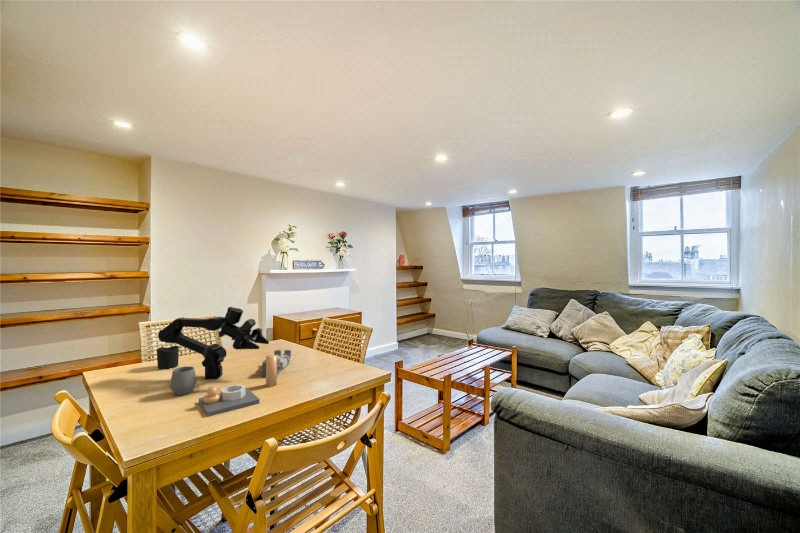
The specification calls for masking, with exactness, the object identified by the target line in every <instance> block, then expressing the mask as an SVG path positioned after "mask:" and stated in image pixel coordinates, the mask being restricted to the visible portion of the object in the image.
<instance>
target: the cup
mask: <svg viewBox="0 0 800 533" xmlns="http://www.w3.org/2000/svg"><path fill="white" fill-rule="evenodd" d="M196 385H197V375H196V370H195V367H194V366H190V365H189V366H181V367H175V369H174V368H173V370H172V373H171V378H170V382H169V387H170V389H171V390H172V392H173V394H174V395H176V396H185V395H188V394H190V393H193V391H194V389H195V387H196Z"/></svg>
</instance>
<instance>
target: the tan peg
mask: <svg viewBox="0 0 800 533" xmlns="http://www.w3.org/2000/svg"><path fill="white" fill-rule="evenodd" d="M265 360H266V377H265V386H266V388H267V387H268V388H271V387H272V388H273V387H276V386H277V384H278V382H277V381H278V380H277V377H278V375H277V356H276V355H274V354H269V355H266V357H265Z"/></svg>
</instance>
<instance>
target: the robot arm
mask: <svg viewBox="0 0 800 533" xmlns="http://www.w3.org/2000/svg"><path fill="white" fill-rule="evenodd" d="M243 313H244V310H243V309H242V308H237V307H233V306H229V307H228V308H227V311H226V314H225V316H224V317H223V316H214V317H209V318H193V317H191V318H190V317H189V318H188V317H184V316H183V317H178V318H175V319H174V320H173V321H171V322H170V323H169V324H168V325H167V326H165V327H164V328H163V329H161V330H160V331H158V333H157V338H158V340H159V341H160V342H162V343H166V344H177V345H178V346H182V347H184V348H186V349H188V350H190V351H193V352H195V353H197V354H200V355H202V357H203V358H204V359H203V360H202V361H201V365H202V367H204V377H203V378H202V379H203V380H217V379H219V378H220V377H222V376H223V375H224V374H223V366H222V363H223V362H224V360H225V358H226V357H227V355H228V354H227V349H226V348H224V346H223V345H219V344H218V343H213V344H210V345H208V344H206V343H203V342H201V341H199V340H197V339H195V338H192V337H189V336H187V335H185V334H184V333H183V329H184V328H201V329H202V328H203V329H205V330H207V331H211V332H215V331H218V330H220V331H218V332H217V333H218V337H219V338H222V337H225V336H226V337H227V336H228V337H229V338H231V340H232V341H233V342H232V348H233V349H234V350H237V351H238V350H259V349H260V346H259V345H257V344H262V345H269V344H270V341H269V340H267V338H266V337H264V335H263V334H262V333H263V329H262V328H260V327H257V328H254V329H252V328H253V327H254V326H255V325H256V324H257V323H256V320H255V319H253V318H249V319H247V320H246V321H244V322H243V324H242V325H241V326H238V325H237V324H239V323H240V321H241V319H242V315H243Z"/></svg>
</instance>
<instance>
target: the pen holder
mask: <svg viewBox="0 0 800 533" xmlns="http://www.w3.org/2000/svg"><path fill="white" fill-rule="evenodd" d="M179 350H180V345H173V346H170V347H166V346H165V347H164V346H162V347H161V346H160V347H157V348H156V359H157V369H159V370H161V369H166V370H171V369H170V368H172V369H174V367H175V368H178V366H179V357H180V356H179V352H180V351H179Z"/></svg>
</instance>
